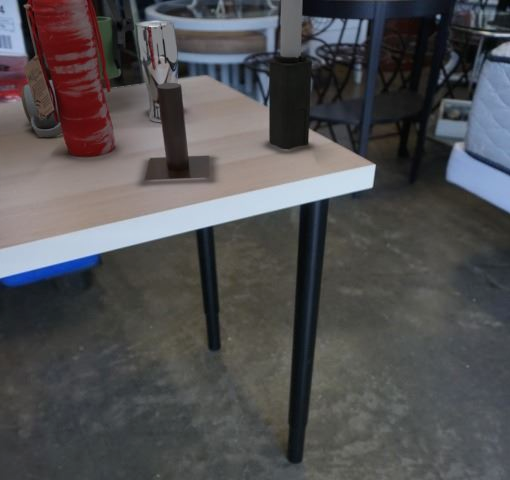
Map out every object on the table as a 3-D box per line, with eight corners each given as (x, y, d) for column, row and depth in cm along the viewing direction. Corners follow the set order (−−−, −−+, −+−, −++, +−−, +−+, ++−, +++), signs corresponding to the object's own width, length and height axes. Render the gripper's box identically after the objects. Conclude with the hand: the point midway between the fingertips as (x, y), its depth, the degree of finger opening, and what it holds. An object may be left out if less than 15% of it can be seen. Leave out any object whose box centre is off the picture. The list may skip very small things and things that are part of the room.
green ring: (81, 80, 100) (69, 23, 94) (87, 72, 105) (76, 17, 99) (118, 79, 100) (108, 21, 94) (122, 70, 105) (113, 16, 99)
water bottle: (41, 171, 81) (-19, -39, 64) (49, 153, 87) (-4, -42, 70) (121, 165, 82) (83, -42, 65) (123, 148, 88) (89, -46, 71)
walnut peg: (145, 190, 74) (130, 95, 66) (151, 167, 81) (138, 79, 73) (210, 188, 75) (202, 92, 67) (210, 165, 81) (203, 76, 73)
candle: (284, 159, 82) (288, -48, 66) (266, 151, 86) (265, -49, 69) (311, 153, 84) (320, -50, 68) (291, 144, 88) (296, -51, 71)
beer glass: (168, 125, 97) (157, 27, 87) (139, 120, 100) (125, 25, 90) (191, 115, 102) (182, 21, 92) (163, 111, 104) (151, 19, 94)
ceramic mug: (36, 121, 100) (23, 76, 95) (80, 119, 101) (70, 73, 96) (26, 140, 93) (11, 91, 87) (73, 137, 93) (62, 88, 88)
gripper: (148, -38, 104) (153, 75, 102) (45, -35, 103) (50, 79, 102) (140, -73, 96) (146, 49, 95) (30, -70, 96) (35, 53, 94)
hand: (96, 64), depth 98 cm, fingers closed on green ring, 7 cm apart
